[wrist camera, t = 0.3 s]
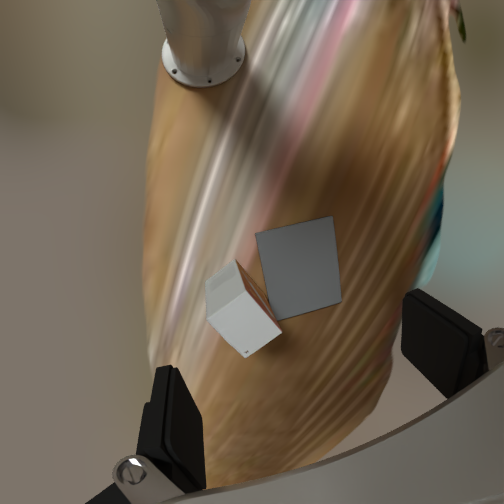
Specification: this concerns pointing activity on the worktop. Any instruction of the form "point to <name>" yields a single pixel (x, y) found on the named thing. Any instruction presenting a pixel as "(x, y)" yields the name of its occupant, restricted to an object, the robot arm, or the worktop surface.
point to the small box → (239, 310)
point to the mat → (300, 267)
